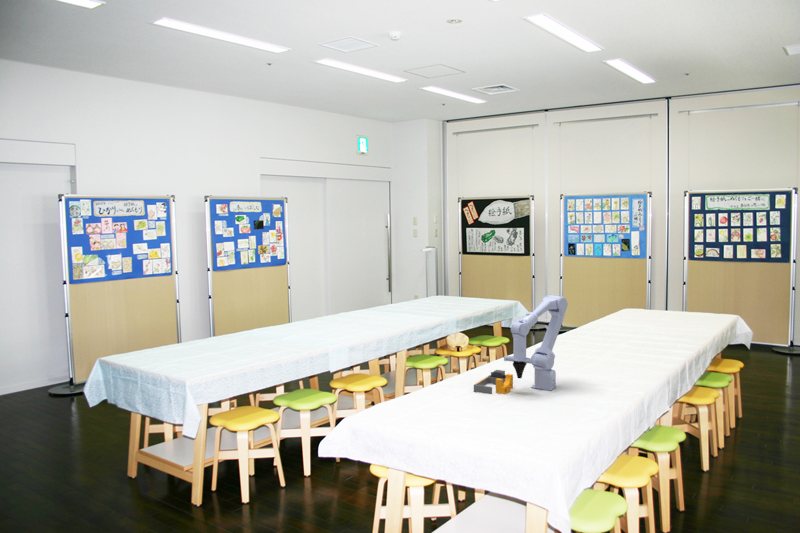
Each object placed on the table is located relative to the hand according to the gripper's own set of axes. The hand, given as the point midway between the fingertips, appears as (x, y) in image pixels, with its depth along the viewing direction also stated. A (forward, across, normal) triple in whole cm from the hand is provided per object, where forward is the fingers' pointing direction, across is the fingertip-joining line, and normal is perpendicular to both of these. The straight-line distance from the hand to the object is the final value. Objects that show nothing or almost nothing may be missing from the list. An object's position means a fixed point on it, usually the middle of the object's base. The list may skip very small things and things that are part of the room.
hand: (519, 377), depth 269 cm
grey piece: (+7, -14, +3) cm, 16 cm away
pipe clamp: (+7, -7, 0) cm, 10 cm away
